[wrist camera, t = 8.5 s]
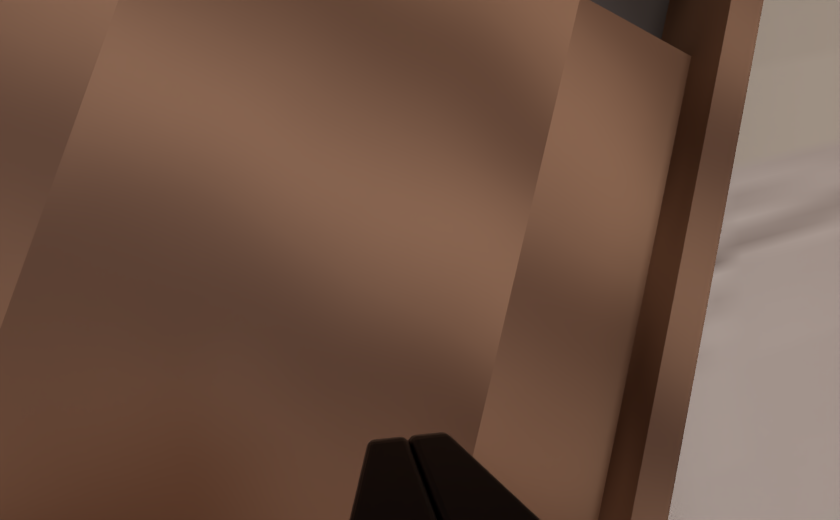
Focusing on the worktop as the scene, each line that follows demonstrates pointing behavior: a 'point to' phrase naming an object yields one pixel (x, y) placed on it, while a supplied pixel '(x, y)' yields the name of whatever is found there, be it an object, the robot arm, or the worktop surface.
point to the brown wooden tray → (356, 246)
